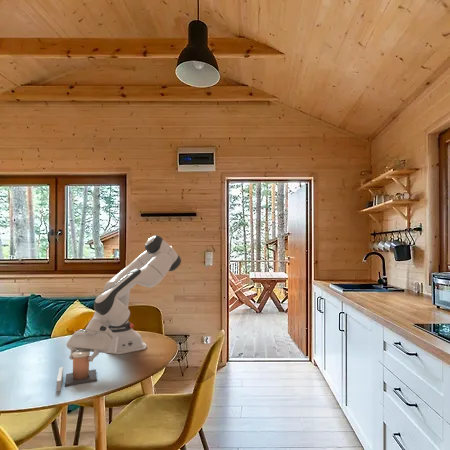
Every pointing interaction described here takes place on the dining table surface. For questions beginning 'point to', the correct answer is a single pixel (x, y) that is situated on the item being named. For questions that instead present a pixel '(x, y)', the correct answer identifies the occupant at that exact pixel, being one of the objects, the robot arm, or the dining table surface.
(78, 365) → the jar
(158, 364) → the dining table surface
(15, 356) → the dining table surface
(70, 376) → the plate
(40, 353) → the dining table surface
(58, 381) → the divider
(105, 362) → the dining table surface
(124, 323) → the robot arm
